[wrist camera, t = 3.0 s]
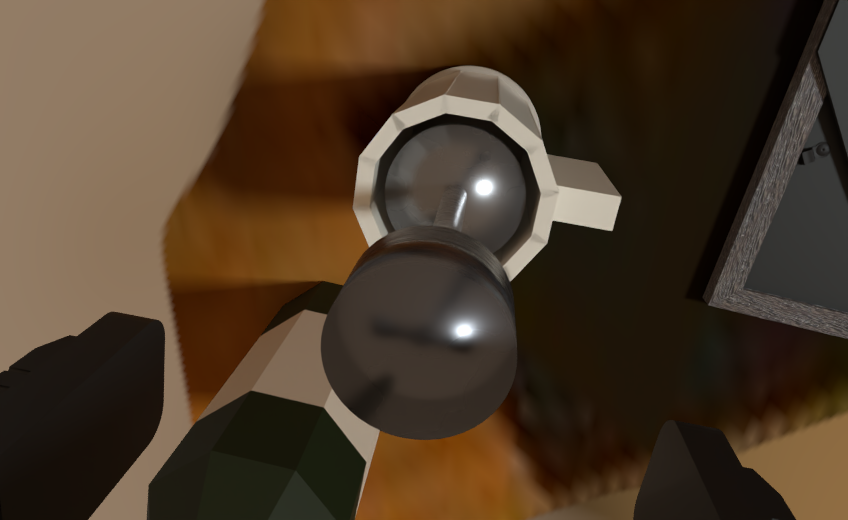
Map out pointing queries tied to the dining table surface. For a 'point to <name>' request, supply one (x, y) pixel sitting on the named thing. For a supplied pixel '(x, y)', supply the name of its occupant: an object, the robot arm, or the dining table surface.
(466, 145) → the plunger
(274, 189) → the dining table surface
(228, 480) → the wine bottle
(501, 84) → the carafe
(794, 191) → the picture frame
